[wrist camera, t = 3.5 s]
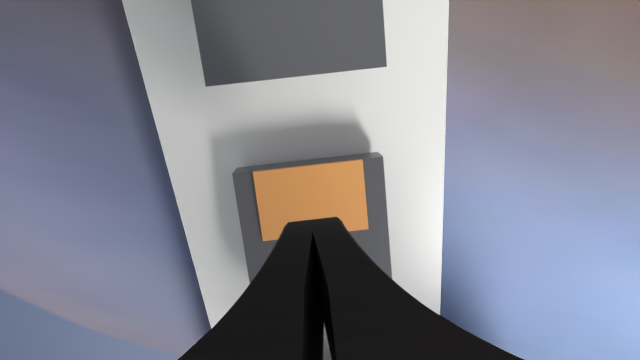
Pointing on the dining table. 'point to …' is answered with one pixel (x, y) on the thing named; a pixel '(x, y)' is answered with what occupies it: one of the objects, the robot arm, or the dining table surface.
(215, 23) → the outlet rocker
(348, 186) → the outlet rocker
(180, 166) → the power strip
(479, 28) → the dining table surface
